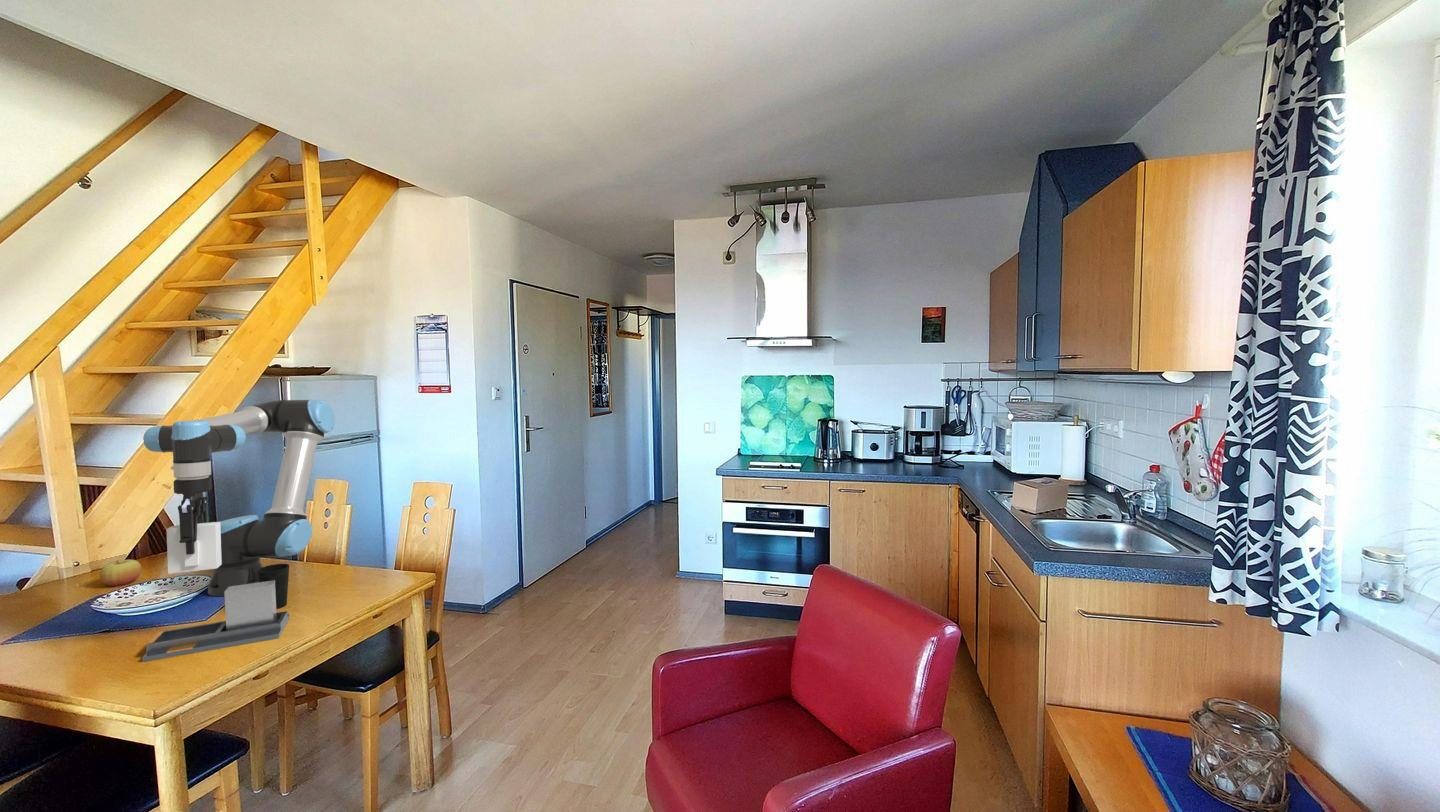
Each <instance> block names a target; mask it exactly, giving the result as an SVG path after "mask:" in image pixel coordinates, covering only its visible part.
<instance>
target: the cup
mask: <svg viewBox="0 0 1440 812" xmlns="http://www.w3.org/2000/svg"><path fill="white" fill-rule="evenodd" d="M257 573H258V579H259V582H266V581H274V580H275V592H276V610H278V609H279V610H280V609H281V608H284V607H286V606H287V605H288V593H289V592H288V591H289V579H290V578H289V575H290V565H289V564H288V563H275V564H274V563H273V564H270V565H265V566H263V567H262V568H260V569H258V570H257Z"/></svg>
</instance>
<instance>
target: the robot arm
mask: <svg viewBox="0 0 1440 812" xmlns="http://www.w3.org/2000/svg"><path fill="white" fill-rule="evenodd" d="M335 421H336V417H335V412H334V410H333V408H332V406H331V405H330V404H329V403H328V402H327V401H325V400H321V399H278V400H277V399H276V400H271V401H266V402H262V403H258V404H253V405H249V406H245V407H243V408H242V409H241V410H240V411H236V412H235V411H234V412H230V413H225V414H221V415H215V416H211V417H206V418H203V419H196V420H193V419H192V420H178V421H175V422H174V423H172V425H164V424H162V425H154V426H151V427H150V428H148V429H146V430H145V432H144V434H143V437H142V438H143V445H144V447H145V448H146V449H147V450H148V451H150V452H153V453H164V454H166V453H172V465H171V467H170V470H171V471H173V472H172V473H173V478H175V479H174V480H173V493H174V494H175V495H182V496H183V497H182V500H181V502H180V505H178V506H177V510H178V518H179V525H180V541H179V542H180V543H184V552H185V567H186V566H195V565H199V542H198V541H196V540H197V524H200V523H208V500H209V497H208V496H204V493H206V492H209V491H211V490H212V486H213V485H212V478H211V477H210V476H211V475H212V462H211V454H213V453H218V452H220V453H221V452H231V451H233V450H238V449H239V448H241V447H242V446H243V445H245V442H246V439H247V437H246V434H251V435H255V434H260V433H282V435H283V437H284V438H285V439H286V444H285V449H284V452H283V457H282V461H281V464H280V470H279V473H278V478H277V483H276V487H275V490H274V491H275V492H274V495H273V498H272V499H273V500H272V504H271V508H270V509H269V510H267V511H266V512H264V514H263V517H262V520H260V518H259V516H258V515H257V514H249V515H242V516H237V517H233V518H228V519H225V520H221V521H219V522H220V528H221V560H222V564H221V565H220V566H219V567H218V568H216V569H213V571H212V574H211V577H210V580H209V582H208V586H207V594H208V595H210V596H212V597H225V594H224V592H225V590H226V589H227V588H228V587H230V586H237V585H244V584H252V583H259V579H258V573H257V570H258V569H260V568H262V567H264V566H263V563H262V562H261V557H280V558H281V557H287V556H295V555H298V554H300V553H302V551H303V550H304V549H306V548H307V546H308V545H309V543H310V541H311V538H312V535H313V528H312V527H313V526H312V523H311V521H309V520H307V517H308V515H307V514H306V513H305V511H304V506H305V502H306V496H307V492H308V487H309V483H310V482H309V481H310V478H311V474H312V473H311V472H312V469H313V465H314V460H315V456H316V449H317V445H318V443H320V442H322V441H324V437H325V434H327V433H330V432H332V430H333V429H334V428H335Z"/></svg>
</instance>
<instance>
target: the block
mask: <svg viewBox="0 0 1440 812" xmlns="http://www.w3.org/2000/svg"><path fill="white" fill-rule="evenodd" d="M220 522H221V521H211V522H207V523H200V524H197V540H196V541H198V542H199V565H195V566H186V567H185V552H184V543H180V542H179V541H180V524H178V525H177V524H176V525H171V526H169V527H168V528H166V547H167V551H166V552H167V574H170V575H171V574H180V573H187V572H189V573H190V572H196V571H206V570H214V569H216V568H218V567H219V566H220V565H221V564H222V560H221V528H220Z"/></svg>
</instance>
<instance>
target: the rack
mask: <svg viewBox="0 0 1440 812" xmlns="http://www.w3.org/2000/svg"><path fill="white" fill-rule="evenodd" d="M224 594H225V596H224V608H225V610H224V611H225V620H222V621H217V622H210V623H203V624H198V625H191V626H184V627H183V626H182V627H178V628H171V629H165V630H160V631H158V633H156V634H155V635H154V636H153V637H152V639H151V640H149V641H148V643H147V644H146V645H145V648H146V650H145V651H146V653H145V654H144V655H143V656H142V657H141V659H142V663H143V662H151V661H155V660H156V661H157V660H162V659H167V658H172V657H177V656H178V657H179V656H184V655H190V654H195V653H201V652H209V651H213V650H217V649H223V648H231V647H236V646H241V645H248V644H252V643H259V642H258V641H260V642H264V640H265V641H270V640H276V639H280V637H281V635H282V633H283V631H284V629H285V627H286V626H287V624H288V622H289V620H290V614H289V613H288V611H287V610H286V611H279V612H277V609H276V592H275V580H274V581H266V582H259V583H252V584H244V585H237V586H230V587H228V588H227V589H226V590H225V592H224Z"/></svg>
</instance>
